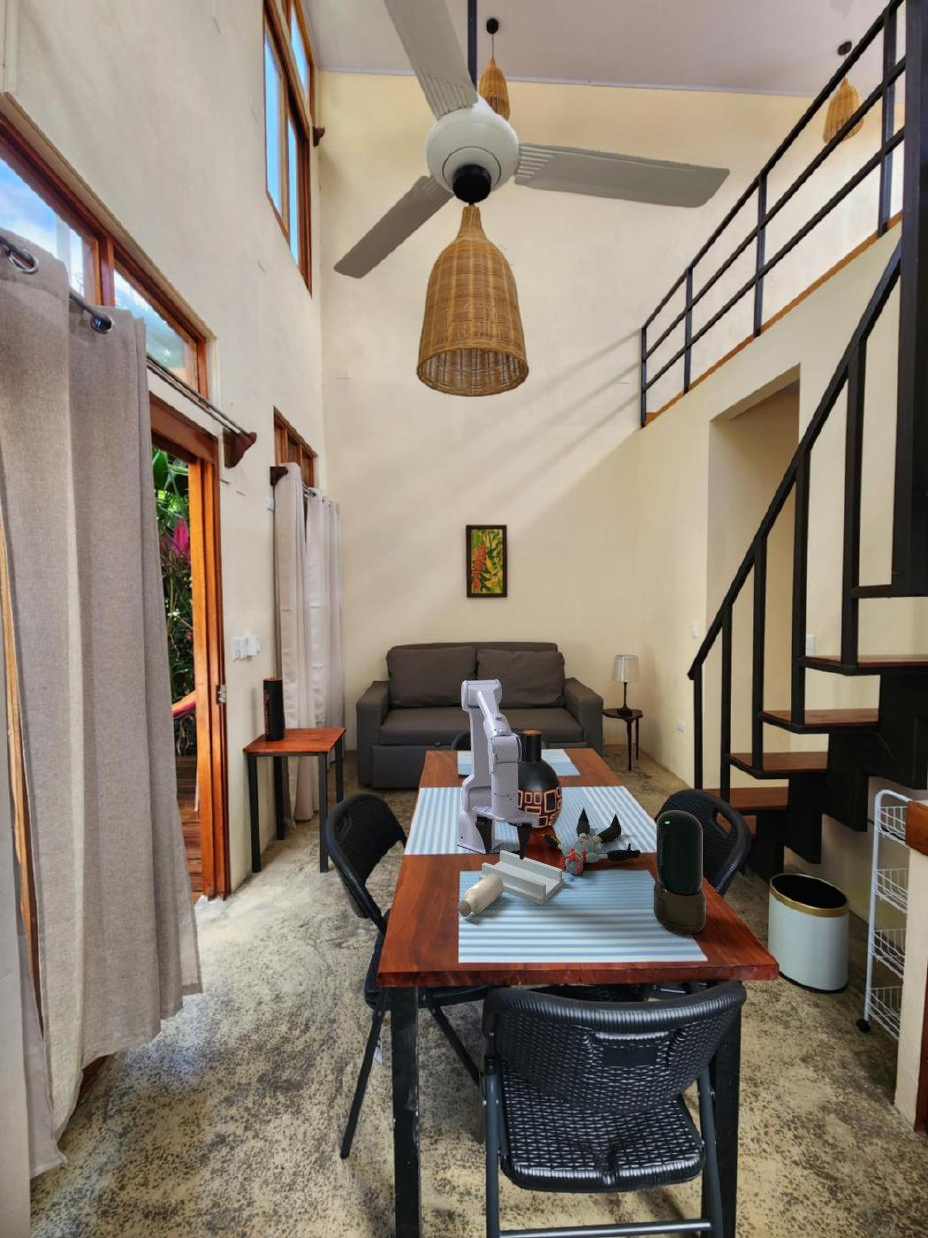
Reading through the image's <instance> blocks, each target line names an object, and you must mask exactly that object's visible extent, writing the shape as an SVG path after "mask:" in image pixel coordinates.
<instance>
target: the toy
mask: <svg viewBox="0 0 928 1238" xmlns="http://www.w3.org/2000/svg"><path fill="white" fill-rule="evenodd" d="M590 830H591V825H590V820H589V819H588V815H587V812H586V809H585V807H582V810H581V812H580V815H579V817H578V820H577V825H576V830H575V831H576V834H577V836H578V839H577V841H575V842H574V843H573V844H572V845H571V847H569V846H564V845H563V844H561V841H560V840H559V839H558V837H556V836H554V835H552V834H549V833H546V834H543V833H541V834H540V835H541V836H542V838H543V840H544V842H545V844H546V845H548V846H549V847H551V848H553V849H560V850H561V852H562V855H563V856H564V857H561V859H560V861H559V865H558V867H559V868H560V869H562V870H563V872H565V870H567V871H568V873H570V874H572V875H576V876H577V875H578V874H580V873H581V877H583V875H584V870H585V866H586V865H585V864H586V863H592V864H593V863H597V862H599V860H601V859H607V860H609V861H611V862H625V861H627V860H630V859H639V858H640V857H641V854H642V853H641V850H640V849H632V843H631V842H629V843H628V845H627V849H613V850H609V851H607V852H606V853H600V854H599V853H596V852H594V851H595V850H596V846H598V845H599V844H602V845H603V844H608V843H613V842H614V841H615V840H617V838H619V837H621V835H622V826H621V823H620V820H619V818H618V815H617V813H614V817H613V819H612V821H611V822H610V826H608V827H606V828H605V829H603V830H602V831H601V832H599V833H598V834H596V835H594V836H591V835H589V834H590ZM563 861H564V863H563ZM576 876H575V877H576Z"/></svg>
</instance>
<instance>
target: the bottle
mask: <svg viewBox="0 0 928 1238" xmlns="http://www.w3.org/2000/svg"><path fill="white" fill-rule="evenodd" d="M504 892H505V891H504V884H503V882H502V880H501V878H500V877H499V876H498V875H496V874H494V873H491V874H489V875H487V876H486V877H484V878H483V879H482V880H480V881H479V880H478V881H477V883H475V884H474V885H472V886H471V887H470V888H469V889H467V890H466V891H465V892H464V895H463V899H462V900H460V901H459V902H458V903H457V911H458V913H459V914H460V915H461V916H462V917H465V918H467V917H468V916H470V915H471V913H474V914H477V915H478V914H480V913H481V912H482V911H484V910H485V909H486V908H487V907H489V906H490V905H491V904H492V903H494V902H495V901H496V900H497V899H498V898H499V897H501V896H502V895H503V894H504Z"/></svg>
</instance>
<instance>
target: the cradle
mask: <svg viewBox="0 0 928 1238" xmlns="http://www.w3.org/2000/svg"><path fill="white" fill-rule="evenodd" d="M491 873H494V874H496V875H498V876H499V877H500V878H501V880H502V882H503V884H504V892H505V891H506V892H505V893H508V894H510V895H514V896H516V895H517V896H516V897H518V896H519V898H521V899H523V898H524V900H526V901H528V902H532V903H534V902H535V904H536V903H537V904H536V905H539V904H540V905H539V906H541V904H542V903H543V902H544V903H545V902H546V901H547V900H548V899H549V898H550V897H551V896H553V894H554V893H555V892H556V891H557V890H558V889H559V888H561V887H562V885H564V884H563V883H565V877H564V876H563V868H562V869H561V868H560V867H559V868H558V867H556V866H552V865H549V864H546V863H543V862H540V861H537V860H534V859H531V858H529V857H526V856H525V857H524V859H523V860H521V859H520V857H519V854H516V853H513V852H510V851H506V850H504V849H502V850H500V851H499V861H498V862H496V863H495V864H494V865H493V864H491V863H488V862H483V863H482V864H481V874H480V875H479V876H478V882H479V881H480V880H482V879H483V878H484V877H486V876H487V875H489V874H491ZM557 888H558V889H557ZM550 895H551V896H550ZM549 896H550V897H549ZM548 897H549V898H548ZM546 899H547V900H546ZM544 903H543V904H544ZM543 904H542V905H543Z"/></svg>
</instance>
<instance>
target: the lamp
mask: <svg viewBox="0 0 928 1238" xmlns="http://www.w3.org/2000/svg"><path fill="white" fill-rule="evenodd" d="M703 831H704V830H703V827H702V824H701V823H700V821H699V820H698V819H697V817H696V816H694V815H693V814H691V813H689V812H687V811H683V810H678V809H677V810H676V809H675V810H674V809H671V810H667V811H665V812H662V813H661V814H660V815H659V817H658V818H657V820H656V834H655V835H656V844H655V845H656V846H655V847H656V850H655V851H656V877H657V879H656V881H655V882H654V885H653V914H654V916H655V919H656V920H657V921H658V923H659V924H660V925H661V926H662V927H665V929H668V931H672V932H675V933H678V934H683V935H691V934H693V935H694V934H696V933H699V932H700V931H702V930H703V929H704V928H705V926H706V921H707V896H706V894H705V891H704V889H703V887H702V884H703V879H704V875H703V874H704V872H703V871H704V868H703V866H704V865H703V863H704V862H703V860H704V859H703V858H704V857H703V855H704V854H703V853H704V852H703V851H704V847H703V844H704V843H703V842H704V841H703V839H704V838H703V837H704V835H703V834H704V832H703Z"/></svg>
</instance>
